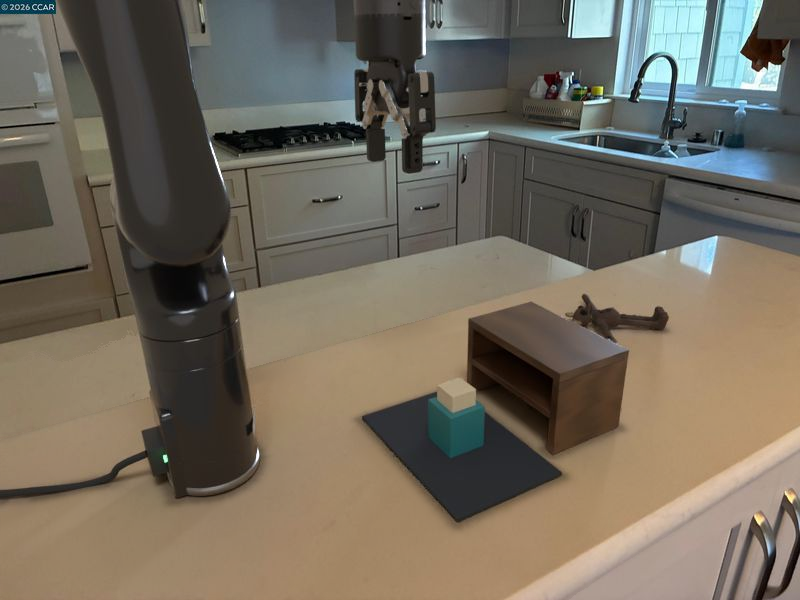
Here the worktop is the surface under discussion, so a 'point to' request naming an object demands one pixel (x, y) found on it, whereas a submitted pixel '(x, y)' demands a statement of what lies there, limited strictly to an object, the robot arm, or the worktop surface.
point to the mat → (461, 460)
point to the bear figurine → (615, 318)
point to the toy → (456, 418)
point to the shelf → (550, 369)
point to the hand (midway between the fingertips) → (393, 166)
